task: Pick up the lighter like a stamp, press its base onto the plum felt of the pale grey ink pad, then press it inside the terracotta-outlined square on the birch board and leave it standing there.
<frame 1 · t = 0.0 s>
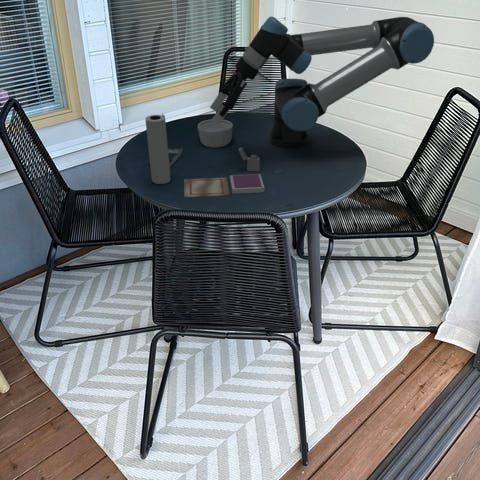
hand: (214, 116, 174), 15 cm above the table, tool tilted 35°, fingers open, 13 cm apart
ramekin: (215, 143, 195), on the table
paper towel roll: (162, 180, 167), on the table
ink pad: (246, 185, 163), on the table
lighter: (249, 170, 174), on the table
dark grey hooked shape: (164, 160, 182), on the table
marked board: (206, 187, 162), on the table
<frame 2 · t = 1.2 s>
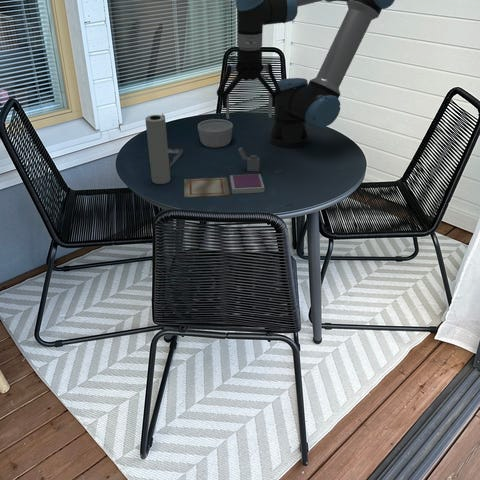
hand: (248, 117, 164), 19 cm above the table, tool pointing down, fingers open, 13 cm apart
nothing on the table moved.
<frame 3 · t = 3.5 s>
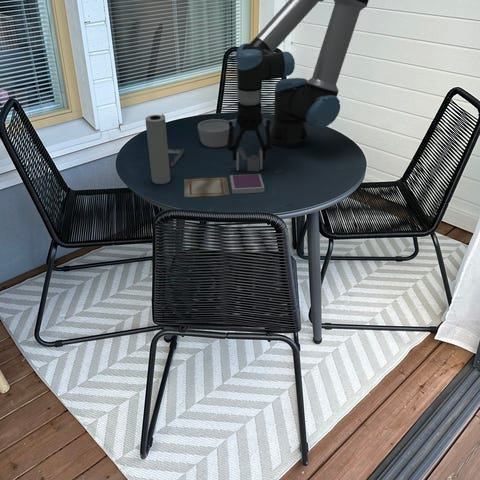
hand: (249, 168, 173), 1 cm above the table, tool pointing down, fingers closed on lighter, 7 cm apart
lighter: (249, 170, 174), on the table, touching gripper
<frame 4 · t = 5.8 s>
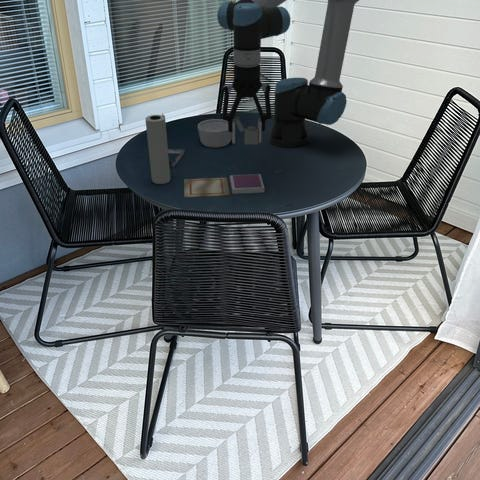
hand: (246, 141, 155), 15 cm above the table, tool pointing down, fingers closed on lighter, 7 cm apart
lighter: (246, 143, 156), point 14 cm above the table, touching gripper
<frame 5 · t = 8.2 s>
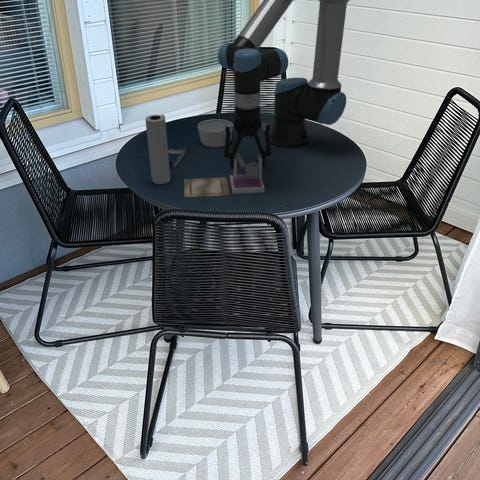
hand: (247, 176, 162), 3 cm above the table, tool pointing down, fingers closed on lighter, 7 cm apart
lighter: (247, 178, 162), point 3 cm above the table, touching gripper
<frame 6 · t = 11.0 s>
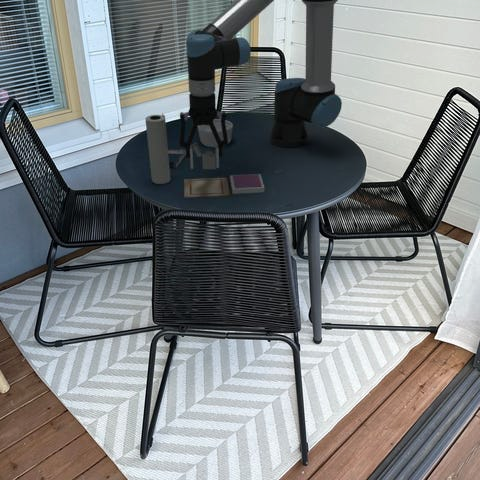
hand: (204, 166, 158), 7 cm above the table, tool pointing down, fingers closed on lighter, 7 cm apart
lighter: (204, 168, 159), point 7 cm above the table, touching gripper
when the fingers open (2 cm above the table, at t = 13.3 s): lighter drops 1 cm, resting on marked board.
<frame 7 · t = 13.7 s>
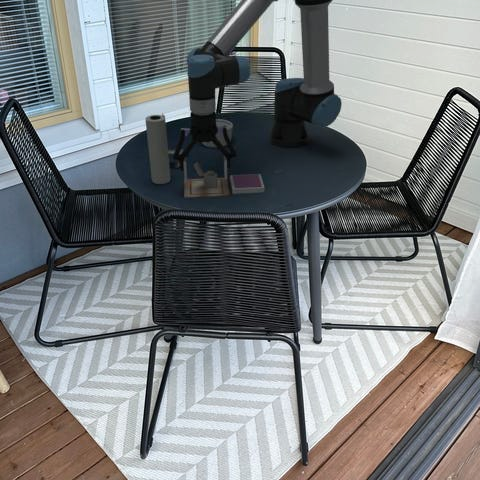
hand: (205, 178, 161), 3 cm above the table, tool pointing down, fingers open, 12 cm apart
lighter: (206, 187, 162), resting on marked board
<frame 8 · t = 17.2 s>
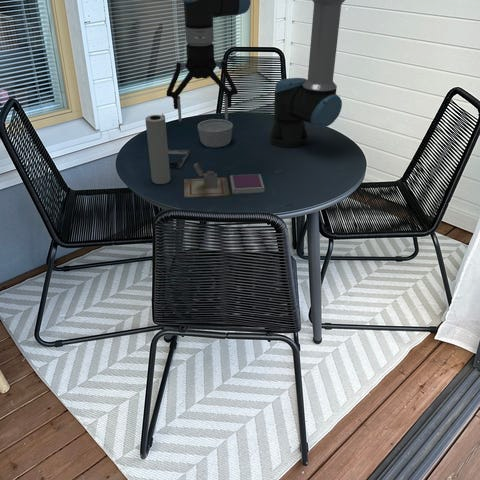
hand: (203, 118, 150), 23 cm above the table, tool pointing down, fingers open, 13 cm apart
at the end: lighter 0.0 cm off-centre on the marked board, point 0.2 cm above the marked board's base; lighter tilted 0°; the gripper is holding nothing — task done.
